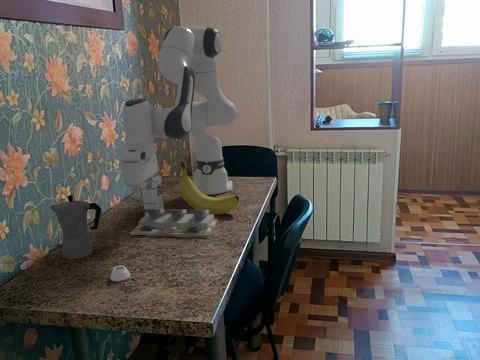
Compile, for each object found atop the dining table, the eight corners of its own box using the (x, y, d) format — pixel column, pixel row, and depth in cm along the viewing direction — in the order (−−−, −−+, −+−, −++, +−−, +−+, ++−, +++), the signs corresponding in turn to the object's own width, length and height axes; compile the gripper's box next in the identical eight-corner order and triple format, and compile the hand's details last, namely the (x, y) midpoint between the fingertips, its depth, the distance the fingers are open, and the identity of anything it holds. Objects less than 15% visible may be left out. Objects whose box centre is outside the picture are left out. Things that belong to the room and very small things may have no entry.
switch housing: (149, 218, 155) (148, 213, 155) (214, 219, 151) (213, 214, 151) (139, 227, 147) (138, 221, 146) (207, 229, 143) (207, 223, 142)
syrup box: (159, 216, 160) (155, 178, 157) (144, 216, 161) (140, 178, 158) (164, 211, 166) (161, 174, 162) (150, 211, 167) (146, 174, 163)
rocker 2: (174, 216, 153) (174, 209, 153) (186, 216, 152) (186, 209, 152) (165, 217, 144) (165, 209, 144) (178, 217, 143) (178, 209, 143)
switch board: (147, 220, 157) (147, 214, 156) (217, 221, 152) (217, 216, 152) (130, 235, 142) (129, 229, 142) (207, 237, 138) (207, 231, 137)
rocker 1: (152, 216, 154) (153, 209, 154) (164, 216, 153) (164, 209, 154) (142, 216, 145) (143, 209, 146) (155, 216, 145) (155, 209, 145)
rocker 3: (196, 217, 151) (196, 209, 152) (208, 217, 151) (208, 210, 151) (188, 217, 143) (189, 209, 143) (201, 217, 142) (201, 210, 142)
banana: (241, 211, 162) (239, 159, 157) (238, 217, 156) (235, 162, 152) (184, 210, 167) (180, 159, 162) (178, 214, 161) (174, 162, 157)
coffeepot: (48, 259, 126) (39, 200, 122) (64, 246, 135) (56, 191, 131) (100, 259, 125) (92, 199, 120) (112, 246, 134) (105, 190, 129)
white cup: (131, 273, 116) (112, 274, 115) (130, 263, 115) (111, 264, 115) (128, 282, 111) (108, 283, 111) (127, 271, 110) (107, 272, 110)
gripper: (143, 146, 148) (146, 185, 151) (116, 157, 128) (121, 202, 131) (161, 146, 147) (164, 185, 150) (136, 157, 127) (141, 202, 130)
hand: (144, 193), depth 140 cm, fingers open, 8 cm apart
